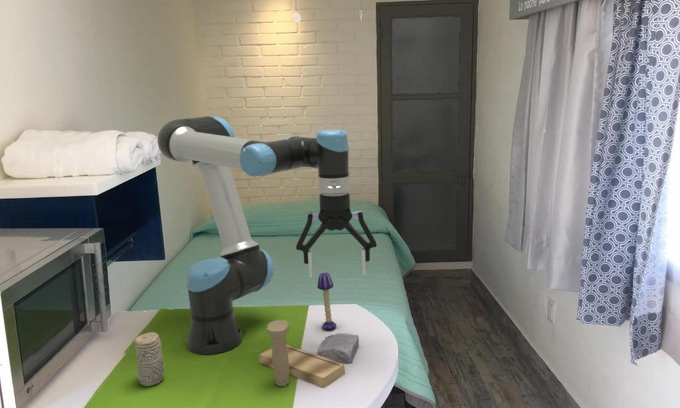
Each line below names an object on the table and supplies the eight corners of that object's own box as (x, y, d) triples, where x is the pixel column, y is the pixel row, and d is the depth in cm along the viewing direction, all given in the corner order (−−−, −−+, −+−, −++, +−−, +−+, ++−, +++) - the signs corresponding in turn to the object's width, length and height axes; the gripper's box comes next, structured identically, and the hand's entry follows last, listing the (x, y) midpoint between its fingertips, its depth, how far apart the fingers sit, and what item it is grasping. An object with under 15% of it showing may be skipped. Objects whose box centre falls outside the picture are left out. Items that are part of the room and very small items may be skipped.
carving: (142, 391, 135) (136, 345, 132) (135, 379, 141) (129, 334, 139) (169, 383, 138) (163, 338, 136) (161, 371, 144) (155, 327, 142)
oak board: (259, 363, 146) (259, 353, 145) (281, 351, 152) (280, 342, 151) (323, 387, 132) (323, 377, 132) (344, 373, 138) (344, 363, 138)
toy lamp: (321, 332, 162) (318, 277, 159) (318, 325, 167) (315, 272, 163) (338, 329, 163) (334, 275, 160) (334, 323, 168) (331, 270, 165)
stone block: (317, 369, 145) (354, 364, 142) (312, 352, 144) (349, 346, 142) (327, 350, 156) (362, 344, 154) (323, 334, 156) (357, 328, 153)
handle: (271, 391, 132) (265, 332, 129) (273, 377, 138) (269, 320, 135) (291, 390, 132) (286, 330, 129) (293, 376, 138) (289, 319, 135)
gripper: (282, 198, 135) (287, 281, 139) (386, 194, 135) (387, 277, 140) (285, 191, 142) (289, 271, 147) (383, 188, 142) (384, 267, 147)
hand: (337, 274), depth 143 cm, fingers open, 13 cm apart
